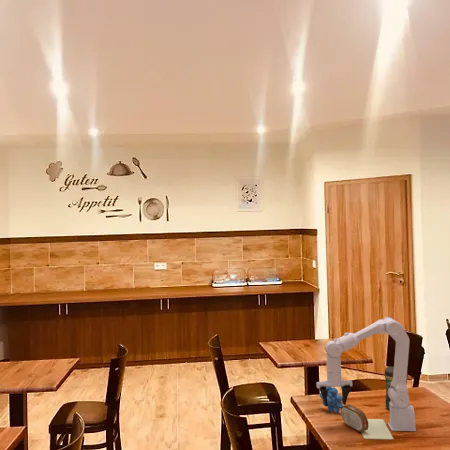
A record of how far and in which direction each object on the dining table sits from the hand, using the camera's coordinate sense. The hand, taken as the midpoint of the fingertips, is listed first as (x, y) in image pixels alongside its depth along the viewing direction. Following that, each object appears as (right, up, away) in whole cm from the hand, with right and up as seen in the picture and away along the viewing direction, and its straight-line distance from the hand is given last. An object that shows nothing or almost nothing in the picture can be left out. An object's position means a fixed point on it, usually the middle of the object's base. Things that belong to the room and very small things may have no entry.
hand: (335, 404), depth 201 cm
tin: (+8, -9, -1) cm, 12 cm away
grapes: (+2, -10, +17) cm, 20 cm away
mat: (+15, -9, -2) cm, 18 cm away
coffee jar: (+32, -9, +19) cm, 38 cm away
